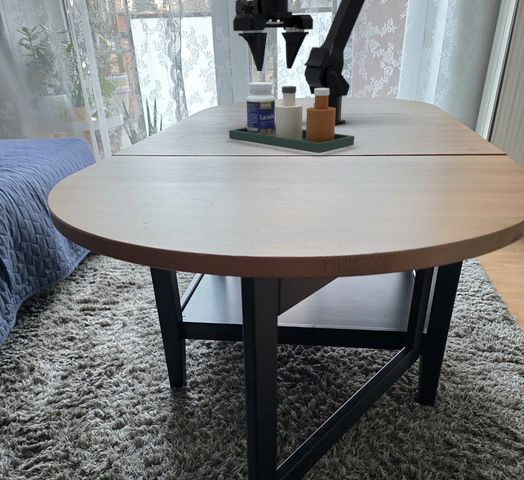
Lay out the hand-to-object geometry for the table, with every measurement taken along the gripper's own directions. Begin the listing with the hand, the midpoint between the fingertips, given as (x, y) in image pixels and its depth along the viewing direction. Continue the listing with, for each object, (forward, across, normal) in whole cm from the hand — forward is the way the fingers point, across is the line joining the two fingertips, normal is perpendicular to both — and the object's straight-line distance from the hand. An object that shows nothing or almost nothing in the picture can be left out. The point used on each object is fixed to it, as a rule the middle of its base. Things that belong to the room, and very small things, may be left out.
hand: (274, 69), depth 111 cm
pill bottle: (+12, +12, +8) cm, 18 cm away
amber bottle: (+11, +12, +24) cm, 29 cm away
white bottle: (+11, +12, +16) cm, 23 cm away
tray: (+12, +12, +16) cm, 23 cm away
